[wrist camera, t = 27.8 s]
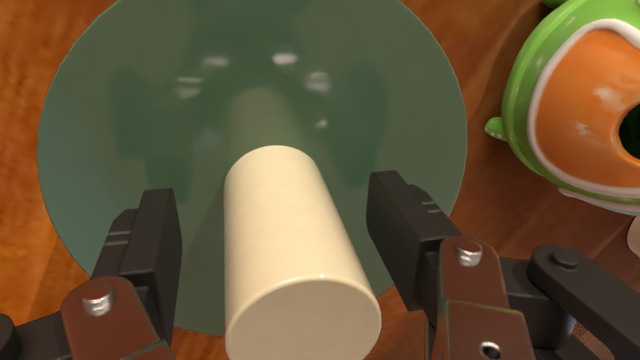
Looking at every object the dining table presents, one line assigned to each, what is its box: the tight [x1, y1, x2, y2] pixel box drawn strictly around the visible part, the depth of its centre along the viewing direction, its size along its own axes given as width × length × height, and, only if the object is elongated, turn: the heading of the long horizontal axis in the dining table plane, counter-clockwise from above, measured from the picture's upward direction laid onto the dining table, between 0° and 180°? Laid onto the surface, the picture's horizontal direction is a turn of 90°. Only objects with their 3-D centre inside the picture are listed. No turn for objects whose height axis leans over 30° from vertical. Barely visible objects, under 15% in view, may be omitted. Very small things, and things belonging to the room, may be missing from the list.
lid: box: [36, 0, 468, 360], centre depth 11 cm, size 13×13×7 cm
